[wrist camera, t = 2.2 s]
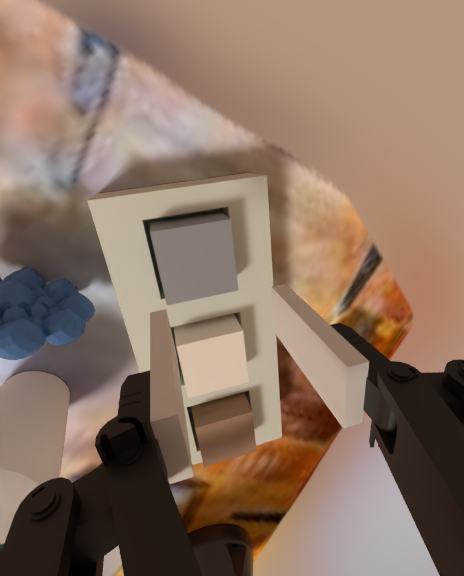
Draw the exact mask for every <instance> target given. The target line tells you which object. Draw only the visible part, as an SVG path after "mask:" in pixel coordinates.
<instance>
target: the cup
mask: <svg viewBox="0 0 464 576" xmlns="http://www.w3.org/2000/svg"><path fill="white" fill-rule="evenodd" d="M69 398H70V393H69V389H68V387H67V385H66V384H65V383H64V382H63V381H62V380H61V379H60V378H58V377H57V376H55V375H52V374H50V373H46V372H41V371H27V372H22V373H19V374H16V375H14V376H12V377H10V378H9V379H8V380H7V381H5V383H4V384H3V385H2V386H1V387H0V545H1V544H4V543H5V540H6V537H7V535H8V532H9V529H10V526H11V523H12V520H13V518H14V515H15V513H16V511H17V509H18V507H19V505H20V503H21V502H22V501H23V500H24V498H25V497H26V496H27V495H28V494H29V493H30V492H31V491H32V490H33V489H35V488H36V487H37V486H39V485H40V484H42V483H44V482H46V481H48V480H50V479H54V478H59V475H60V471H61V464H62V456H63V448H64V440H65V432H66V423H67V415H68V407H69Z"/></svg>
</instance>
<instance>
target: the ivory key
mask: <svg viewBox="0 0 464 576" xmlns="http://www.w3.org/2000/svg"><path fill="white" fill-rule="evenodd" d="M174 334H175V341H176V347H177V352H178V356H179V360H180V365H181V369H182V373H183V378H184V382H185V386H186V391H187V395H188V398H192V397H195V396H199V395H203V394H206V393H210V392H214V391H218V390H221V389H225V388H229V387H232V386H236V385H240V384H244V383H247V382H249V379H248V370H247V361H246V352H245V343H244V334H243V329H242V328H241V326H240V324H239V322H238V320H237V318H236V317H235V315H234V313H233V314H228V315H224V316H219V317H215V318H210V319H206V320H201V321H197V322H192V323H188V324H184V325H179V326H175V327H174Z"/></svg>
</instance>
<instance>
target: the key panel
mask: <svg viewBox="0 0 464 576" xmlns="http://www.w3.org/2000/svg"><path fill="white" fill-rule="evenodd" d="M88 205H89V208H90V211H91V215H92V218H93V221H94V224H95V228H96V231H97V234H98V237H99V241H100V244H101V247H102V250H103V254H104V257H105V260H106V264H107V267H108V270H109V273H110V277H111V280H112V283H113V286H114V290H115V293H116V296H117V299H118V303H119V306H120V309H121V313H122V316H123V319H124V322H125V326H126V329H127V332H128V335H129V339H130V342H131V345H132V348H133V352H134V355H135V358H136V362H137V365H138V368H139V371H140V373H141V372H145V371H149V370H150V312H155V311H159V310H164V309H166V310H167V314H168V319H169V323H170V327H171V332H172V336H173V340H174V345H175V349H176V353H177V359H178V366H179V373H180V381H181V388H182V395H183V402H184V410H185V417H186V424H187V431H188V438H189V446H190V453H191V460H192V465H194V464H197V463H201V462H203V460H202V456H201V452H200V447H199V443H198V439H197V434H196V430H195V425H194V419H193V413H192V407H191V406H193V405H197V404H201V403H204V402H208V401H212V400H215V399H219V398H223V397H226V396H230V395H234V394H237V393H241V392H244V393H245V395H246V398H247V400H248V403H249V405H250V408H251V410H252V414H253V423H254V432H255V441H256V445H259V444H262V443H265V442H268V441H272V440H275V439H278V438H281V437H282V428H281V411H280V393H279V376H278V358H277V341H276V334H275V332H274V322H273V306H272V289H271V287H272V286H273V271H272V254H271V236H270V219H269V202H268V184H267V175H262V174H255V173H243V174H236V175H228V176H221V177H214V178H207V179H199V180H192V181H185V182H178V183H171V184H163V185H156V186H149V187H142V188H135V189H127V190H120V191H113V192H106V193H98V194H96V195H95V196H94V197H92V198H91V199H89V200H88ZM215 211H220V212H222V213H223V214H224V215H226V216H227V217H228V218H230V219H231V227H232V236H233V245H234V254H235V263H236V272H237V281H238V291H234V292H229V293H224V294H219V295H215V296H210V297H205V298H200V299H196V300H191V301H186V302H181V303H177V304H172V305H167V304H166V299H165V295H164V291H163V286H162V282H161V278H160V273H159V269H158V265H157V260H156V256H155V252H154V247H153V243H152V239H151V234H150V222H153V221H159V220H165V219H171V218H178V217H184V216H190V215H197V214H203V213H209V212H215ZM233 313H234V315H235V317H236V318H237V320H238V322H239V324H240V326H241V328H242V329H243V334H244V343H245V352H246V361H247V370H248V379H249V382H247V383H244V384H240V385H236V386H232V387H229V388H225V389H221V390H218V391H214V392H210V393H206V394H203V395H199V396H195V397H192V398H188V395H187V391H186V386H185V382H184V378H183V373H182V369H181V365H180V360H179V356H178V352H177V347H176V341H175V334H174V327H175V326H179V325H184V324H188V323H192V322H197V321H201V320H206V319H210V318H215V317H219V316H224V315H228V314H233Z"/></svg>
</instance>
